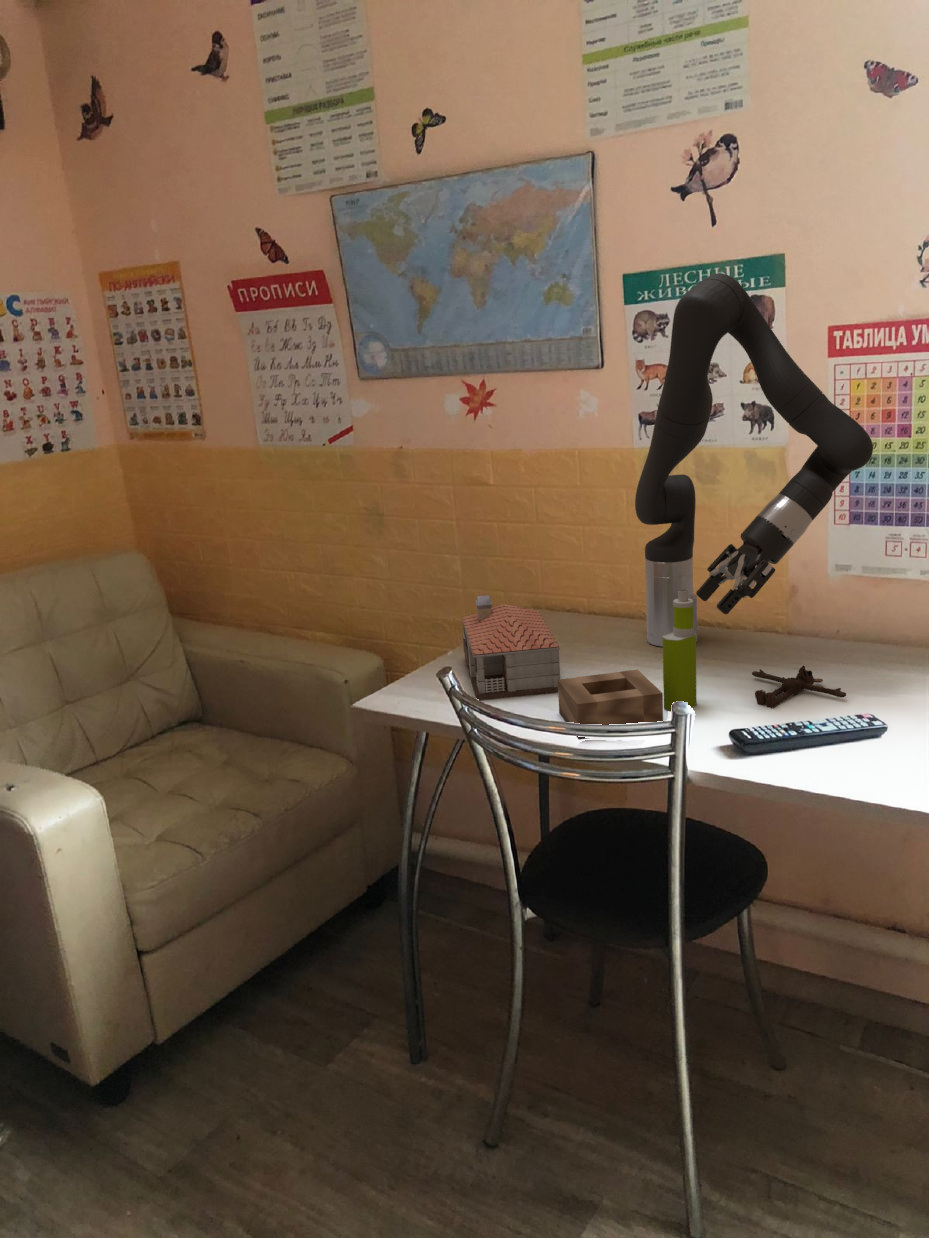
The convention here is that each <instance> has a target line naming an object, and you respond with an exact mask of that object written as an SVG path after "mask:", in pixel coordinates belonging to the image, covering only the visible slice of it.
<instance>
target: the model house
mask: <svg viewBox="0 0 929 1238" xmlns="http://www.w3.org/2000/svg"><path fill="white" fill-rule="evenodd" d="M474 602H475V606H476V613H473V614H470V615H468V616H467V615H466V616H465V617H464V616H463V617H462V618H461V620H462V621H461V622H462V631H463V634H462V643H463V645H462V646H463V652H464V660H465V664H466V667H467V671H468V674H469V679H470V681H471V682H470V683H471V685H472V689H473V694H474V697H475V699H476V698H477V699H479V701H488V700H489V701H490V700H500V699H510V698H520V697H529V696H538V695H539V696H540V695H541V696H542V695H550V694H551V695H552V694H558V680H559V679H561V669H560V668H561V664H560V648H561V647H560V645H559V644H558V642H557V640H556V639H555V636H554V635H553V633H552V631H551V630H550V627H549V626H548V625H547V623H546V621H545V620H544V618H543V616H542V615H541V613H540V611H539V610H536V609H531V608H525V607H521V606H515V605H510V604H506V603H503V604H501V605H497V606H494V607H493V602H492V600H491V598H490V595H478V596H476V600H475V601H474ZM479 701H478V702H479Z"/></svg>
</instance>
